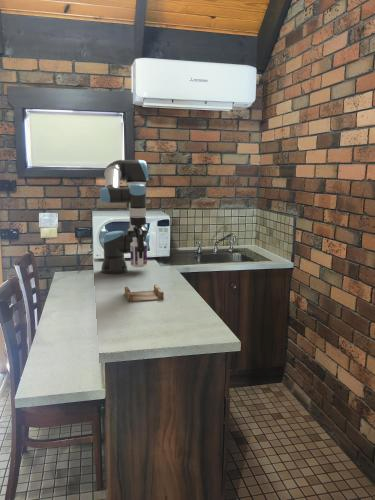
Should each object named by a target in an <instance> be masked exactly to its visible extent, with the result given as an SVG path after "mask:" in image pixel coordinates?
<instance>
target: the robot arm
mask: <svg viewBox="0 0 375 500" xmlns="http://www.w3.org/2000/svg"><path fill="white" fill-rule="evenodd" d="M148 170H149V169H148V164H147V161H145V160H142V159H119V160H118V159H117V160H114V161H112V162H111V163H109V164H108V165H107V166H106V167H105V169H104V171H103V173H104V179H105V182H104V187H101V188H100V189H99V202H100V203H103V204H128V203H129V204H128V205H129V206H128V207H129V210H128V212H129V228H128V229H127V230H126V233H125V232H124V231H123V230H115V231H109V232H106V233H105V234H104V235H103V241H102V243H103V262H102V264H101V268H100V269H101V270H100V272H101V273H102V274H107V275H114V274H115V275H117V274H123V273H124V274H125V273H126V272H128V265H127V262H126V259H125V254H130V244H131V242H133V237H136V238H137V245H138V250H137V257H138V265H143V251H144V242H146V244H147V252H148V250H149V245H150V236H151V234H150V232H148V229H147V228H146V227H145V226H146V224H147V218H146V217H147V207H146V204H147V203H146V202H147V201H146V200H147V199H146V198H147V196H146V195H147V192H146V191H147V190H146V185H147V181H149V171H148ZM120 181H125V184H126V185H127V186H128V187H120V184H121V183H120Z"/></svg>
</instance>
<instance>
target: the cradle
mask: <svg viewBox="0 0 375 500" xmlns="http://www.w3.org/2000/svg"><path fill="white" fill-rule="evenodd" d="M124 295H125V297H126V300H127V301H128V303H129V302H131V303H140V302H143V303H144V302H152V301H153V302H154V301H163V300H164V299H165V298H164V291H163V290H162V289H161V288H160V287H159V285H158V284H153V290H152V289H151V290H142V291H131V290H130V288H129V287H128V286H124Z"/></svg>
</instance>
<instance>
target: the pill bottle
mask: <svg viewBox="0 0 375 500" xmlns="http://www.w3.org/2000/svg"><path fill="white" fill-rule="evenodd" d="M137 250H138V245H137V238H136V237H133V242H131V244H130V253H129V254H130V266H131V267H133V268H144V267H146V266H147V265H148V251H147V244H146V242H144V251H143V265H138V257H137Z"/></svg>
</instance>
